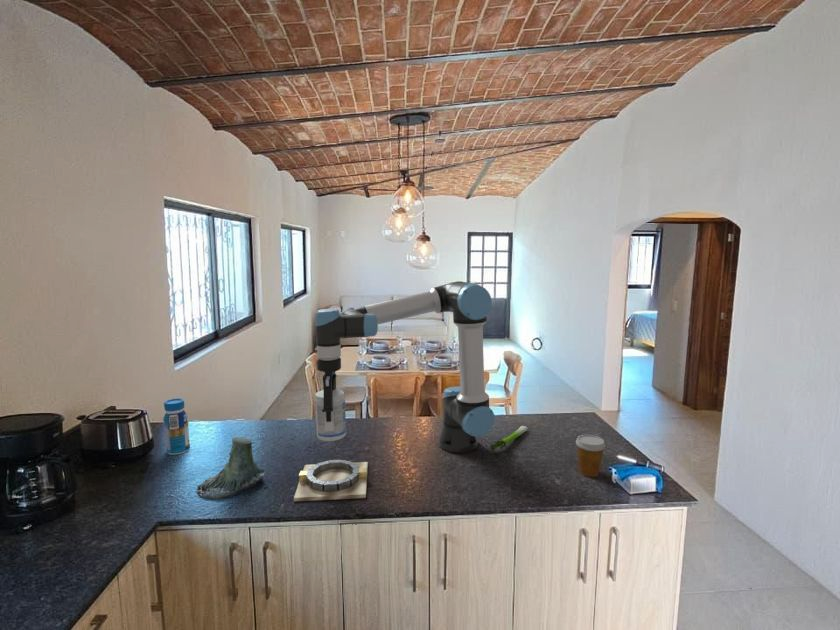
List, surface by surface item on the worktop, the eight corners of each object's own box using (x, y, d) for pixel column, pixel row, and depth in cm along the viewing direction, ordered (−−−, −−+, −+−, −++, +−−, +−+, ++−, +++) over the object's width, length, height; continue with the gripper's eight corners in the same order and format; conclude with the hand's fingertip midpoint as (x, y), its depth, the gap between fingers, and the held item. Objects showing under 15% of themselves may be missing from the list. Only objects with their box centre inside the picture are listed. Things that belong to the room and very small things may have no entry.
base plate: (367, 465, 169) (367, 461, 169) (365, 497, 148) (365, 494, 147) (305, 467, 167) (305, 464, 167) (294, 501, 146) (293, 497, 146)
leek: (531, 436, 198) (503, 458, 173) (515, 435, 202) (485, 456, 177) (530, 422, 198) (502, 441, 173) (514, 421, 202) (484, 440, 177)
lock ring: (367, 465, 167) (366, 458, 166) (365, 490, 150) (365, 482, 149) (304, 468, 165) (303, 461, 164) (295, 493, 148) (295, 486, 148)
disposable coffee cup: (603, 468, 165) (605, 436, 164) (604, 481, 157) (606, 447, 155) (574, 464, 169) (576, 432, 167) (574, 477, 160) (575, 443, 158)
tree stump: (200, 477, 162) (210, 426, 162) (260, 482, 168) (270, 433, 168) (192, 502, 145) (203, 445, 144) (259, 506, 151) (271, 452, 150)
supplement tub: (351, 438, 154) (349, 394, 151) (323, 444, 148) (321, 399, 146) (338, 428, 162) (337, 386, 159) (312, 434, 156) (310, 391, 154)
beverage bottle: (160, 453, 180) (156, 403, 177) (179, 444, 188) (175, 396, 184) (177, 457, 177) (172, 405, 174) (195, 448, 184) (191, 398, 181)
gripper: (321, 350, 162) (323, 412, 165) (312, 366, 140) (314, 438, 143) (343, 349, 162) (345, 411, 166) (337, 366, 140) (339, 437, 144)
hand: (331, 424), depth 154 cm, fingers closed on supplement tub, 10 cm apart
